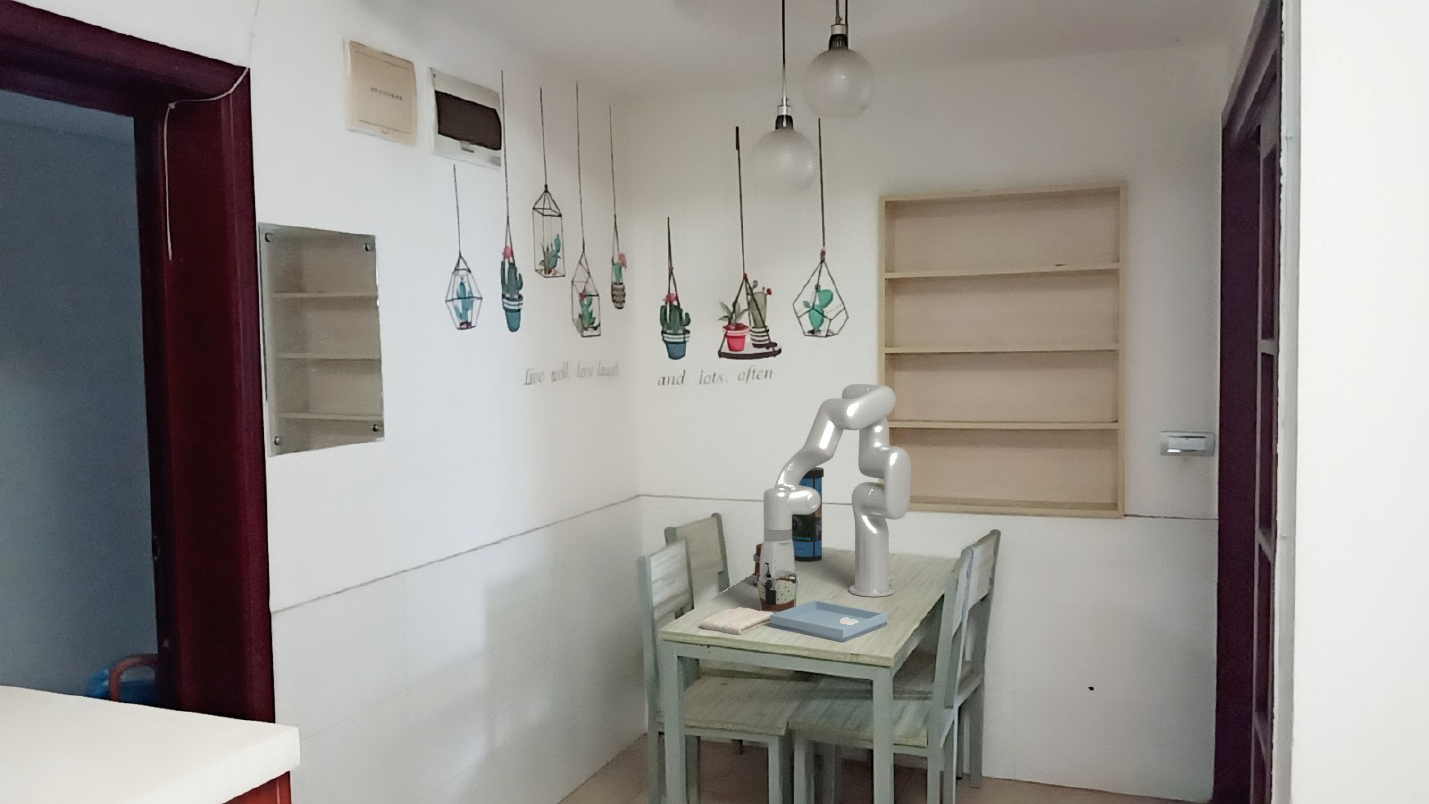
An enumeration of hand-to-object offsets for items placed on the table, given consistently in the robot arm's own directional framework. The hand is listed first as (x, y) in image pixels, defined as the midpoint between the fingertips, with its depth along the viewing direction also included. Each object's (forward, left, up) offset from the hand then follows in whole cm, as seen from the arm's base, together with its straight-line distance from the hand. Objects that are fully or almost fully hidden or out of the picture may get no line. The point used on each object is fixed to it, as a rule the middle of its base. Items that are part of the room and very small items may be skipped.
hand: (778, 601), depth 283 cm
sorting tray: (+4, +19, -3) cm, 20 cm away
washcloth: (+17, 0, -3) cm, 17 cm away
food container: (-1, 0, -3) cm, 3 cm away
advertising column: (-61, -34, -3) cm, 70 cm away
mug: (-25, -21, -3) cm, 33 cm away
